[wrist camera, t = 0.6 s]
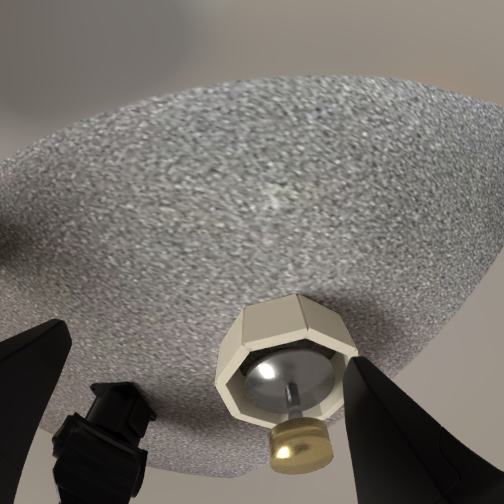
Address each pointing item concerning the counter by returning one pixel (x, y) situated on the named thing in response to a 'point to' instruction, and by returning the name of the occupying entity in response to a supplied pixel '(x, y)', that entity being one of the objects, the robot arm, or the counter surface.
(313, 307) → the cream octagonal ring
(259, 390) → the plunger
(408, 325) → the counter surface
